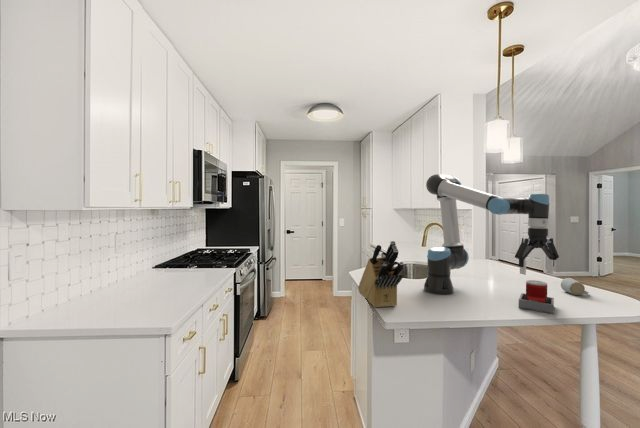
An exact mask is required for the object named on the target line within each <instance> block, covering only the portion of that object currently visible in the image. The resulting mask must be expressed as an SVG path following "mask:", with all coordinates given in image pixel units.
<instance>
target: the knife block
mask: <svg viewBox="0 0 640 428" xmlns="http://www.w3.org/2000/svg"><path fill="white" fill-rule="evenodd" d="M389 243H390V244H389V246H388V248H387V250H386V252H385V256H384V257H378V256H379V254H380V252H381V251H382V246H381V245H380V244H377V245H376V246H375V248H374V251H373V255H372V257H371V258H368V260H367V263H366V264H365V265H366V266H365V268H364V270H363V273H362V276H361V279H360V282H359V284H358V286H357V287H358V288H357V289H358V293H359V294H360V295H361V296H362V297H363V298H364V299H365V300H367V301H368V302H369V303H370V304H371V305H372V306H373V307H374V308H382V307H383V308H384V307H397V306H398V305H397V304H398V286H399V284H400V282H401V281H402V279H404V275H403V274H400V273H401V272H402V270H403V268H404V264H405V263H404V262H403V261H400V262H398V261H397V259H398V256H399V250H398V248H397V245H396V241H394V240H391V241H390V242H389ZM395 265H397V266H395Z"/></svg>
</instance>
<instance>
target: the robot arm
mask: <svg viewBox="0 0 640 428" xmlns="http://www.w3.org/2000/svg"><path fill="white" fill-rule="evenodd" d="M425 187H426V190H427V191H428V192H429V193H430V194H432V195H436V200H437V201H439V204H440V212H441V213H440V215H441V225H442V235H443V243H442V245H441V246H438V247H437V246H435V247H431V248H429V249H428V250H427V255H426V258H427V273H426V274H427V276H426V279H425V282H424V284H423V290H424V291H425V292H427V293H430V294H436V295H451V294H454V286H453V283H452V280H451V270H458V269H461V268H463V267H465V266H466V265H467V264H468V262H469V258H470V257H469V256H470V255H469V253H468V251H467V250H466V249H465V248H464V244H463V243H462V242H461V238H460V237H461V236H460V235H461V234H460V226H459V216H458V207H457V201H460V202H463V203H465V204H468V205H472V206H475V207H478V208H481V209H484V210H487V211H489V212H490V213H492V214H493V215H498V216H501V215H515V214H516V215H528V217H527V218H528V221H527V226H528V228H527V236H528V238H525V237H522V238H521V243H520V245H519V246H518V249H517V251H516V253H515V255H514V258H515V259H517V260H518V267H519V274H521V275H526V273H527V260H526V258H527V257H528V256H529V255H530V254H531V252H532V251H533V250H535V249H541V250H542V251H543V253H544V254H545V255H546V257H547V258H546V269H545V270H546V274H549V275H553V274H554V267H555V261H557V259H559V258H560V256H559V253H558V250H557V249H556V245H555V244H554V238H552V237H548V236H549V229H548V228H549V217H550V216H549V214H550V212H549V211H550V196H549V194H547V193H530V194H529V195H528V197H527V198H525V197H524V198H523V197H516V198H515V197H502V196H498V195H494V194H492V193H488V192H485V191H481V190H478V189H474V188H471V187H468V186H464V185H462V183H461V180H460V178H458V177H457V176H454V175H452V174H440V173H439V174H438V173H437V174H433V175H430V176H429V177H428V179H427V180H426V185H425Z"/></svg>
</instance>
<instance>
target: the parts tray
mask: <svg viewBox="0 0 640 428" xmlns="http://www.w3.org/2000/svg"><path fill="white" fill-rule="evenodd" d="M554 306H555V298H554V297H550V296H547V303H541V302H535V301H529V300H526V293H523V292H521V294H520V296H519V298H518V309H523V310H527V311H528V310H529V311H533V312H540V313H545V314H549V315H554Z"/></svg>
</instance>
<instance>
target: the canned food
mask: <svg viewBox="0 0 640 428" xmlns="http://www.w3.org/2000/svg"><path fill="white" fill-rule="evenodd" d="M525 294H526V300H529V301H535V302H541V303H547V297H548V283H547V282H545V281H542V280H541V281H540V280H532V279H531V280H526V281H525Z"/></svg>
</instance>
